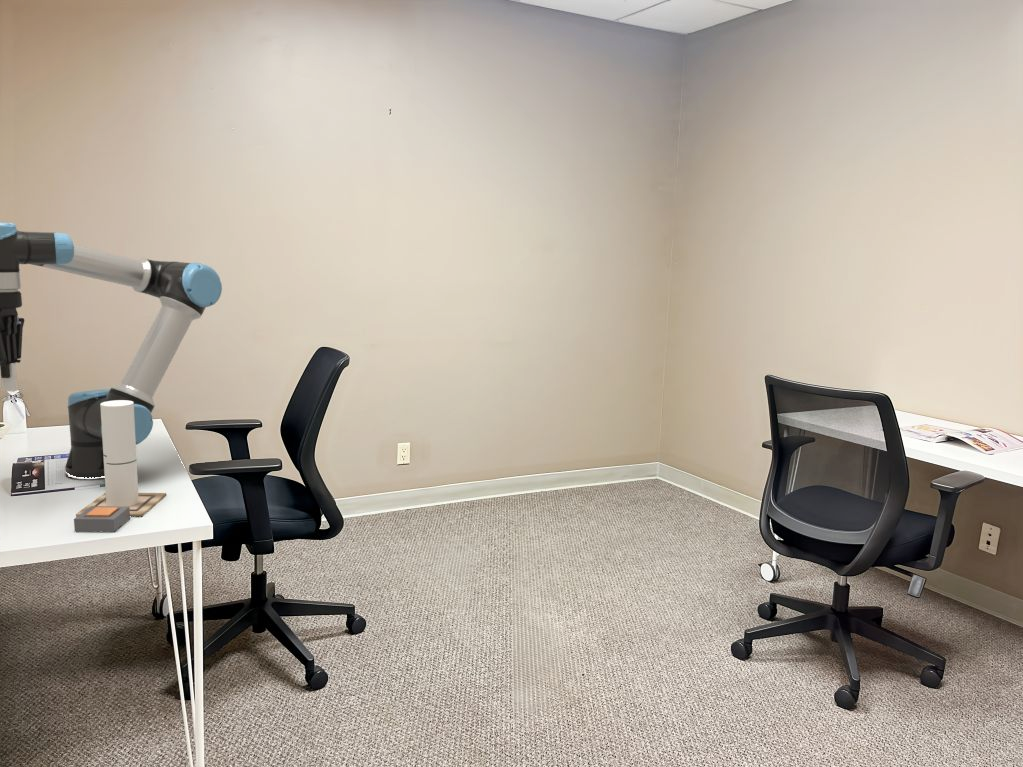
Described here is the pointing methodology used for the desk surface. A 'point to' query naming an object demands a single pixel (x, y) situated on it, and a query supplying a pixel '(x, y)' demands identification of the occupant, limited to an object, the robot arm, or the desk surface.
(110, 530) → the button housing
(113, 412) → the cylindrical container
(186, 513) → the desk surface
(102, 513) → the button
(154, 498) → the picture board
